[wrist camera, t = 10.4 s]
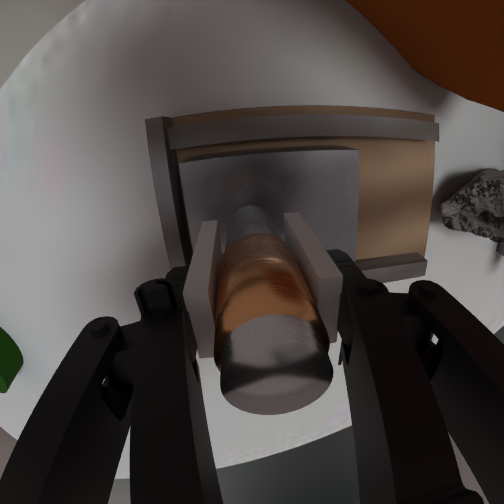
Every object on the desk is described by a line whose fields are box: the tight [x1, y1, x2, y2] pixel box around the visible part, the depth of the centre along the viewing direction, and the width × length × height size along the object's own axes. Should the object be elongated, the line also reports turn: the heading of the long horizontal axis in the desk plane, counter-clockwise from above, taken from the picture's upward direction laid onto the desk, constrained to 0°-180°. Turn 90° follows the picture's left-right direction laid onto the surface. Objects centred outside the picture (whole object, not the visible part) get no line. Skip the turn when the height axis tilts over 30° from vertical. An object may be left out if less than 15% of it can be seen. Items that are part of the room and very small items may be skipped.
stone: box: [439, 169, 504, 245], centre depth 19 cm, size 10×10×10 cm
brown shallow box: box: [145, 105, 439, 283], centre depth 19 cm, size 14×21×4 cm, turn 95°
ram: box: [179, 145, 359, 415], centre depth 13 cm, size 8×10×15 cm
